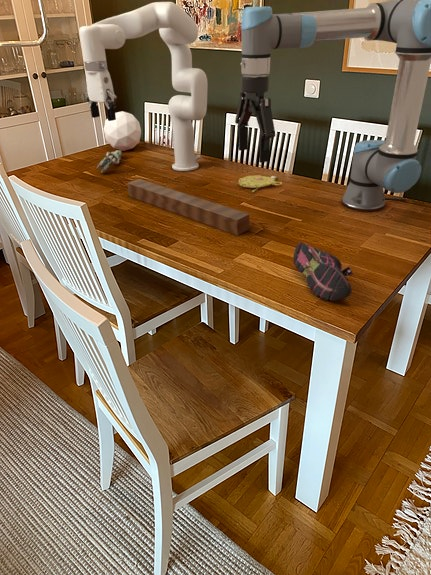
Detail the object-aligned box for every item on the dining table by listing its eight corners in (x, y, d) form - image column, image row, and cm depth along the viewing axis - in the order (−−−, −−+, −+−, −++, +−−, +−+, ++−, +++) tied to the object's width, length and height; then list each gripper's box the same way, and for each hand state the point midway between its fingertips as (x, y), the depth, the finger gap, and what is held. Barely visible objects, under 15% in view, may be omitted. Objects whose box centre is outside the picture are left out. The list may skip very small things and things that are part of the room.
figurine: (101, 154, 197) (119, 141, 223) (91, 167, 200) (110, 152, 227) (114, 165, 199) (130, 151, 225) (103, 178, 203) (121, 162, 229)
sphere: (117, 161, 243) (97, 129, 240) (149, 144, 245) (129, 111, 242) (115, 152, 224) (93, 117, 222) (149, 133, 226) (128, 98, 224)
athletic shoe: (338, 290, 105) (377, 282, 109) (296, 227, 116) (333, 222, 121) (320, 318, 113) (358, 309, 118) (283, 256, 125) (319, 251, 129)
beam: (128, 196, 179) (127, 183, 176) (140, 192, 183) (139, 178, 180) (237, 235, 146) (237, 220, 143) (249, 229, 150) (249, 214, 147)
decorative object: (249, 169, 197) (291, 174, 187) (250, 175, 198) (291, 179, 189) (226, 183, 183) (269, 189, 173) (226, 189, 184) (269, 195, 174)
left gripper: (120, 67, 151) (126, 119, 160) (90, 64, 161) (98, 114, 170) (102, 69, 146) (110, 123, 155) (72, 66, 156) (81, 117, 165)
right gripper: (223, 71, 126) (224, 146, 137) (264, 82, 106) (261, 169, 118) (247, 69, 128) (246, 143, 140) (291, 79, 109) (286, 165, 120)
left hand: (103, 118), depth 162 cm, fingers open, 9 cm apart
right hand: (253, 155), depth 129 cm, fingers open, 13 cm apart
